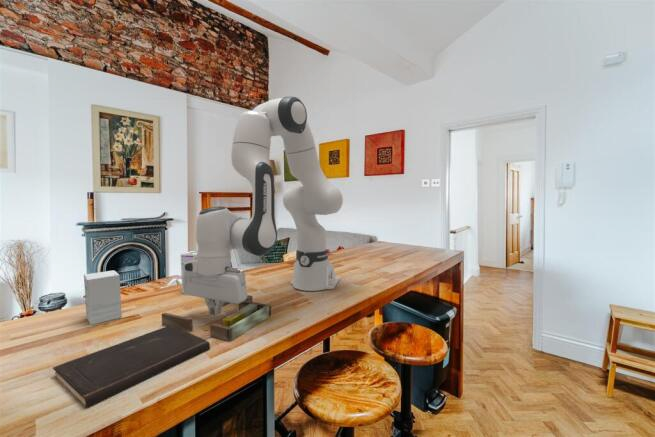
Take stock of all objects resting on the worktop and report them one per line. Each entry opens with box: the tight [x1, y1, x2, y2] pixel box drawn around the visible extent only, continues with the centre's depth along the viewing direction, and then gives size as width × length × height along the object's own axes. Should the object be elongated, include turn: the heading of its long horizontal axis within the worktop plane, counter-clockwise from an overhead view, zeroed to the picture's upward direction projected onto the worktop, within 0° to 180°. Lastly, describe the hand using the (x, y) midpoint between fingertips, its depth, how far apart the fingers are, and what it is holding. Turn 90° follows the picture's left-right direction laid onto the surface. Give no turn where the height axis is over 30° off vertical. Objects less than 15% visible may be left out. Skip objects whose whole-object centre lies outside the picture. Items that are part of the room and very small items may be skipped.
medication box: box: [222, 304, 258, 327], centre depth 81 cm, size 12×3×4 cm, turn 158°
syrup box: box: [180, 250, 198, 294], centre depth 108 cm, size 6×6×14 cm
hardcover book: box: [52, 325, 211, 409], centre depth 62 cm, size 16×23×2 cm
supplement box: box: [83, 270, 123, 326], centre depth 84 cm, size 7×7×13 cm
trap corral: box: [161, 294, 272, 343], centre depth 86 cm, size 22×23×3 cm
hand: (214, 313), depth 84 cm, fingers closed
